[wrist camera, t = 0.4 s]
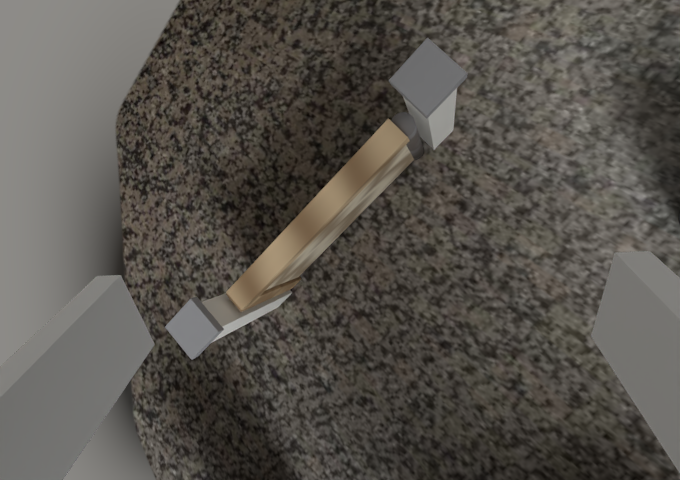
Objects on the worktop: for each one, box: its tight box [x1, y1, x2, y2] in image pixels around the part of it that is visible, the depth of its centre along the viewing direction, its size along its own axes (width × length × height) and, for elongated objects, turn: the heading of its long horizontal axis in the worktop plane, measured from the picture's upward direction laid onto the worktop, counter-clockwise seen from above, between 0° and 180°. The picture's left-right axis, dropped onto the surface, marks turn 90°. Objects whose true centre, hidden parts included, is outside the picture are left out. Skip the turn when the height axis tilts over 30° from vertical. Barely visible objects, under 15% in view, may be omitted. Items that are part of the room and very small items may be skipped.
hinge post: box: [389, 38, 467, 150], centre depth 34 cm, size 4×4×17 cm
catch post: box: [165, 290, 292, 360], centre depth 40 cm, size 4×4×17 cm
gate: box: [226, 112, 424, 312], centre depth 38 cm, size 22×2×12 cm, turn 135°
